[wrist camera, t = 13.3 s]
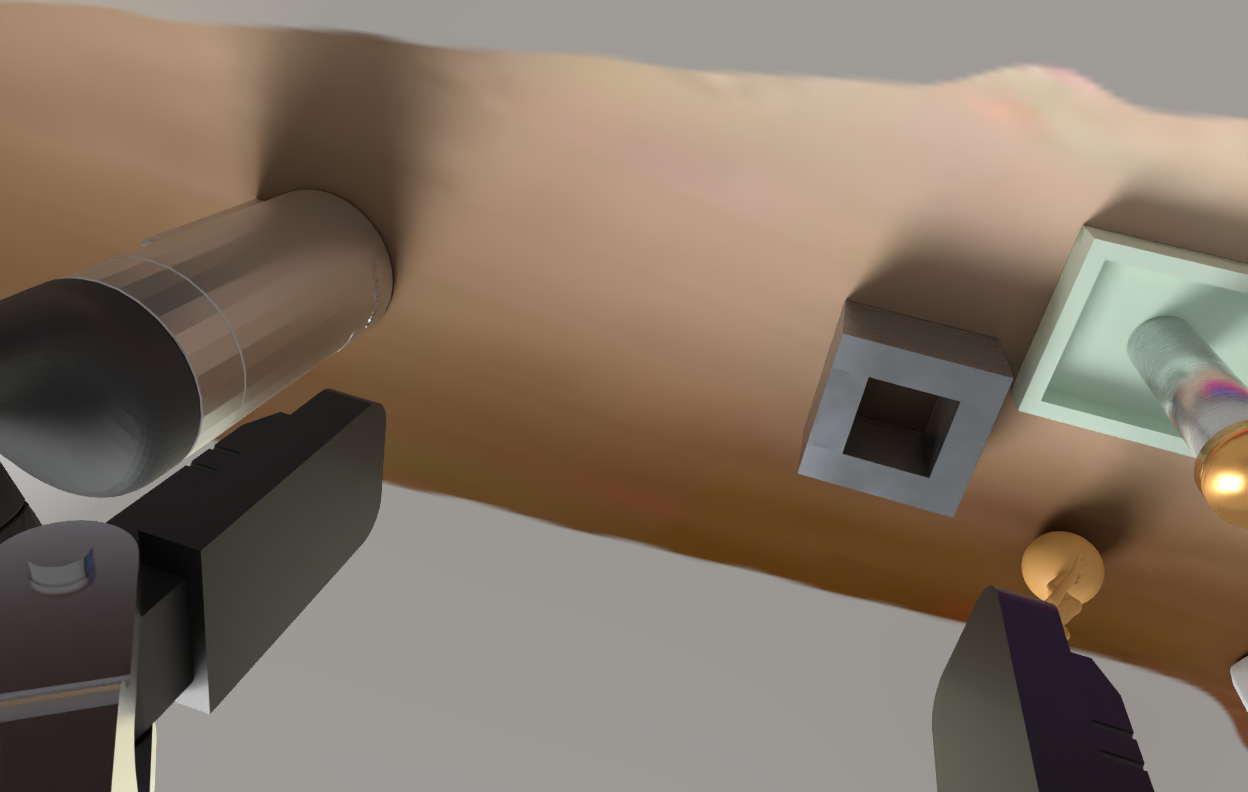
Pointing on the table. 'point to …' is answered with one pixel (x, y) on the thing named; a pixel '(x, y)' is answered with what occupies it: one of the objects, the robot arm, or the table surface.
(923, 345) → the socket block
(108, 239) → the table surface
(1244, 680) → the photo printer
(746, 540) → the table surface
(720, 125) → the table surface
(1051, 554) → the figurine
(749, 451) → the table surface
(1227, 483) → the pin
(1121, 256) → the tray
